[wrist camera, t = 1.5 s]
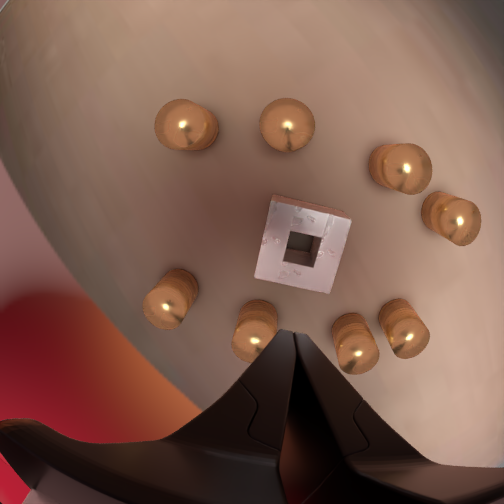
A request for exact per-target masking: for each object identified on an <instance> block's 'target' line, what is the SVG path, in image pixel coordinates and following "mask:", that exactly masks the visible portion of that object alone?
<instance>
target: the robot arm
mask: <svg viewBox="0 0 504 504" xmlns="http://www.w3.org/2000/svg"><path fill="white" fill-rule="evenodd" d="M0 452H1V454H2V455H3V456H4V458H5V459H6V460H7V462H8V463H9V464H10V466H11V467H12V468H13V469H14V471H15V472H16V473H17V474H18V475H19V477H20V478H21V479H22V480H23V481H24V482H25V483H26V485H27V486H28V487H29V488H30V489H31V491H30V492H29V494H28V496H27V497H26V499H25V500H24V502H23V504H504V468H485V467H463V466H450V465H442V464H438V463H435V462H433V461H431V460H429V459H427V458H426V457H424V456H423V455H422V454H421V453H419V452H418V451H417V450H416V449H415V448H414V447H413V446H411V445H410V444H409V443H408V442H407V441H406V440H405V439H404V438H402V437H401V436H400V435H399V434H398V433H397V432H396V431H395V430H393V429H392V428H391V427H390V426H389V425H388V424H387V423H386V422H385V421H384V420H383V419H382V418H381V417H380V416H379V415H378V414H377V413H376V412H375V411H374V410H373V409H372V408H371V406H370V405H369V404H368V403H367V402H366V401H365V400H363V398H362V396H361V395H360V394H359V393H358V392H357V391H356V390H355V389H354V387H353V386H352V385H351V384H350V383H349V382H348V381H347V380H346V378H345V377H344V376H343V375H342V374H341V373H340V372H339V371H338V369H337V368H336V367H335V366H334V365H333V364H332V363H331V361H330V360H329V359H328V358H327V357H326V356H325V355H324V353H323V352H322V351H321V350H320V349H319V348H318V347H317V345H316V344H315V343H314V342H313V341H312V340H311V339H310V337H309V336H308V335H307V334H303V333H298V332H294V333H293V332H292V331H288V330H283V329H280V330H279V331H278V332H277V333H276V334H275V336H274V337H273V338H272V339H271V341H270V342H269V343H268V344H267V345H266V347H265V348H264V349H263V350H262V352H261V353H260V354H259V355H258V356H257V357H256V359H255V360H254V361H253V362H252V363H251V365H250V366H249V367H248V368H247V369H246V370H245V372H244V373H243V374H242V375H241V376H240V377H239V379H238V380H237V381H236V382H235V383H234V384H233V385H232V386H231V387H230V388H229V389H228V391H227V392H226V393H225V394H224V395H223V396H222V397H221V398H219V399H218V400H217V401H216V402H215V403H213V404H212V405H211V406H210V407H209V408H207V409H206V410H205V411H203V412H202V413H201V414H199V415H198V416H197V417H195V418H194V419H193V420H191V421H190V422H188V423H187V424H186V425H184V426H183V427H181V428H180V429H179V430H177V431H176V432H174V433H172V434H171V435H169V436H167V437H165V438H163V439H160V440H155V441H143V442H129V443H105V444H104V443H103V444H102V443H101V444H99V443H88V442H82V441H78V440H75V439H72V438H69V437H67V436H65V435H62V434H60V433H58V432H57V431H55V430H53V429H52V428H50V427H48V426H46V425H44V424H42V423H41V422H38V421H36V420H33V419H28V418H23V419H16V418H15V419H6V420H2V421H0ZM0 504H2V503H1V502H0Z"/></svg>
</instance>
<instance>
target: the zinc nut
mask: <svg viewBox="0 0 504 504" xmlns="http://www.w3.org/2000/svg"><path fill="white" fill-rule="evenodd" d="M351 222H352V220H351V219H350V218H349V217H348V216H347V215H346V214H345V213H344V212H343V211H341V210H337V209H333V208H329V207H325V206H321V205H317V204H313V203H308V202H304V201H300V200H296V199H292V198H287V197H283V196H278V195H274V194H272V199H271V203H270V207H269V212H268V217H267V221H266V226H265V230H264V235H263V239H262V244H261V248H260V253H259V257H258V262H257V266H256V271H255V275H254V278H258V279H262V280H267V281H271V282H276V283H280V284H285V285H289V286H294V287H299V288H303V289H308V290H313V291H317V292H322V293H327V294H330V291H331V288H332V285H333V282H334V278H335V275H336V272H337V269H338V266H339V263H340V259H341V256H342V253H343V249H344V246H345V243H346V239H347V236H348V232H349V229H350V225H351ZM290 230H291V231H295V232H299V233H304V234H308V235H312V236H314V239H313V243H312V247H311V250H310V253H308V252H303V251H299V250H295V249H290V248H286V245H287V241H288V237H289V233H290Z"/></svg>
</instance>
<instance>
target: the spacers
mask: <svg viewBox="0 0 504 504" xmlns="http://www.w3.org/2000/svg"><path fill="white" fill-rule="evenodd" d="M218 130H219V126H218V121H217V119H216V117H215V116H214V115H213V114H212V113H211V112H210V111H208V110H206V109H204V108H203V107H201V106H199V105H197V104H195V103H194V102H192V101H189V100H186V99H177V100H173V101H171V102H169V103H167V104H166V105H165V106H163V107H162V108H161V110H160V111H159V113H158V114H157V117H156V120H155V133H156V136H157V138H158V140H159V141H160V142H161V143H162V144H163V145H164V146H166V147H168V148H170V149H177V150H202V149H205V148H207V147H208V146H210V145H211V144H212V143H213V142H214V141H215V139H216V137H217V135H218ZM260 131H261V134H262V136H263V138H264V139H265V140H266V142H267V143H268V144H269V145H270V146H272V147H273V148H274V149H276V150H278V151H281V152H292V151H295V150H298V149H300V148H302V147H304V146H305V145H306V144H307V143H308V142H309V141H310V140H311V138H312V136H313V134H314V131H315V120H314V117H313V114H312V112H311V111H310V109H309V108H308V107H307V106H306V105H305V104H303V103H302V102H300V101H298V100H295V99H290V98H283V99H278V100H275V101H273V102H272V103H270V104H269V105H268V106H267V107H266V108H265V109H264V111H263V112H262V114H261V117H260ZM369 170H370V173H371V176H372V177H373V179H374V180H375V181H376V182H377V183H378V184H380V185H382V186H385V187H388V188H391V189H393V190H396V191H399V192H402V193H405V194H409V195H414V194H418V193H420V192H422V191H423V190H424V189H425V188H426V187H427V186H428V184H429V183H430V180H431V177H432V164H431V160H430V158H429V156H428V154H427V153H426V152H425V151H424V150H423V149H422V148H421V147H419V146H417V145H415V144H391V145H382V146H380V147H378V148H376V149H375V150H374V151H373V152H372V154H371V156H370V159H369ZM422 219H423V221H424V223H425V225H426V226H427V227H428V228H429V229H431V230H433V231H434V232H436V233H438V234H440V235H441V236H443V237H445V238H446V239H448V240H449V241H451V242H453V243H454V244H456V245H458V246H466V245H468V244H470V243H471V242H473V241H474V240H475V238H476V237H477V235H478V233H479V231H480V227H481V215H480V211H479V209H478V207H477V206H476V205H475V204H474V203H473V202H471V201H468V200H465V199H462V198H459V197H455V196H452V195H449V194H446V193H443V192H434V193H432V194H430V195H429V196H428V197H427V198H426V199H425V201H424V203H423V206H422ZM197 294H198V284H197V281H196V279H195V278H194V277H193V275H191V274H190V273H189V272H187V271H185V270H182V269H174V270H171V271H169V272H168V273H167V274H166V275H165V276H164V277H163V278H162V279H161V280H160V281H159V282H158V283H157V285H156V286H155V287H154V288H153V289H152V290H151V291H150V292H149V293H148V294H147V296H146V297H145V298H144V300H143V312H144V314H145V316H146V318H147V319H148V320H149V322H151V323H152V324H153V325H154V326H156V327H158V328H160V329H165V330H171V329H174V328H176V327H178V326H179V325H180V324H181V322H182V321H183V319H184V317H185V315H186V314H187V312H188V310H189V309H190V307H191V305H192V303H193V302H194V300H195V298H196V297H197ZM277 317H278V316H277V312H276V310H275V308H274V307H273V306H272V305H271V304H270V303H268V302H266V301H263V300H252V301H249V302H247V303H246V304H245V305H244V306H243V307H242V308H241V310H240V313H239V317H238V321H237V324H236V328H235V332H234V335H233V339H232V349H233V351H234V353H235V354H236V356H237V357H239V358H240V359H241V360H243V361H246V362H249V363H252V362H253V361H254V360H255V359H256V357H257V356H258V355H259V354H260V353H261V352H262V350H263V349H264V348H265V347H266V345H267V344H268V343H269V342H270V341H271V339H272V338H273V337H274V336H275V334H276V333H277ZM379 323H380V325H381V327H382V329H383V331H384V333H385V335H386V337H387V339H388V342H389V344H390V346H391V348H392V350H393V352H394V354H395V355H396V356H397V357H399V358H402V359H408V358H412V357H414V356H416V355H418V354H419V353H421V352H422V351H423V350H424V349H425V347H426V346H427V344H428V342H429V338H430V333H429V330H428V329H427V327H426V326H425V324H424V323H423V322H422V320H421V319H420V317H419V316H418V315H417V313H416V312H415V311H414V309H413V308H412V307H411V305H410V304H409V303H408V302H407V301H406V300H403V299H395V300H392V301H390V302H388V303H387V304H386V305H385V306H384V307H383V308H382V309H381V311H380V314H379ZM332 336H333V340H334V344H335V349H336V353H337V357H338V362H339V366H340V368H341V369H342V370H343V371H344V372H345V373H348V374H353V375H357V374H362V373H365V372H367V371H369V370H370V369H372V368H373V367H374V366H375V365H376V363H377V362H378V359H379V350H378V347H377V345H376V343H375V340H374V338H373V336H372V333H371V331H370V329H369V326H368V324H367V322H366V320H365V318H364V317H363V316H361V315H359V314H356V313H349V314H345V315H343V316H341V317H340V318H338V319H337V320H336V321H335V323H334V324H333V327H332Z"/></svg>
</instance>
